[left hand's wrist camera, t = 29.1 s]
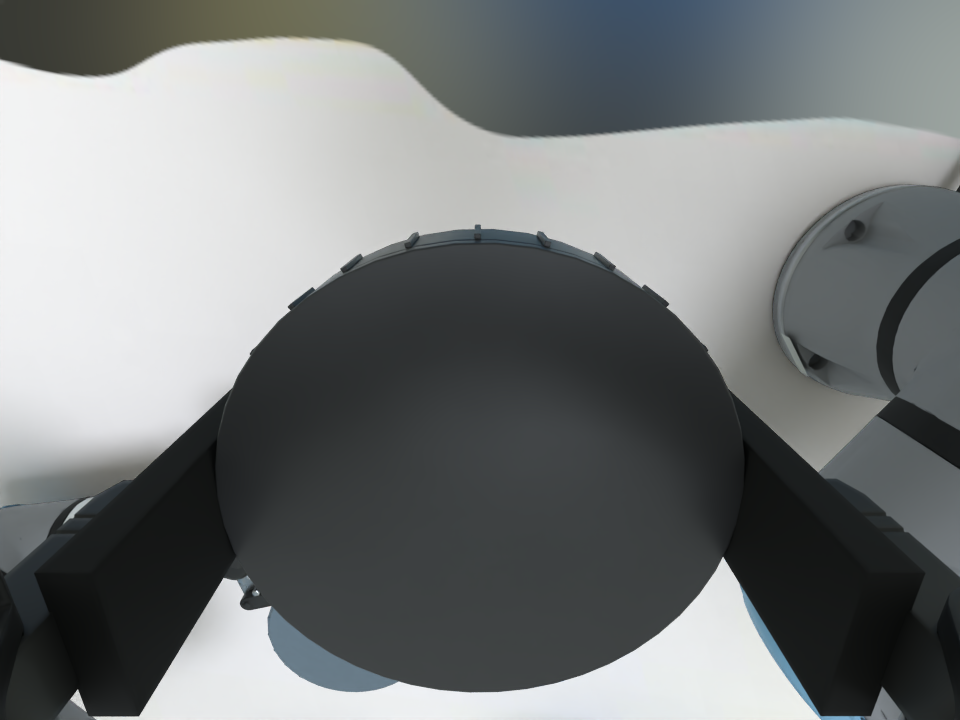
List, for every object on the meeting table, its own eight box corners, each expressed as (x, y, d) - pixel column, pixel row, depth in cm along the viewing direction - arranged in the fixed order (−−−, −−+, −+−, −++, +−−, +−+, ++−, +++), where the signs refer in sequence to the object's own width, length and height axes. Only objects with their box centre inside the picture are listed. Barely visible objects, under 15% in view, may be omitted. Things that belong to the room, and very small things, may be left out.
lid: (151, 366, 11) (91, 403, 10) (604, 121, 10) (632, 113, 8) (397, 678, 14) (386, 747, 13) (767, 537, 13) (811, 595, 11)
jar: (379, 393, 43) (317, 538, 26) (472, 453, 45) (468, 622, 28) (320, 473, 45) (231, 649, 29) (411, 526, 47) (374, 719, 31)
